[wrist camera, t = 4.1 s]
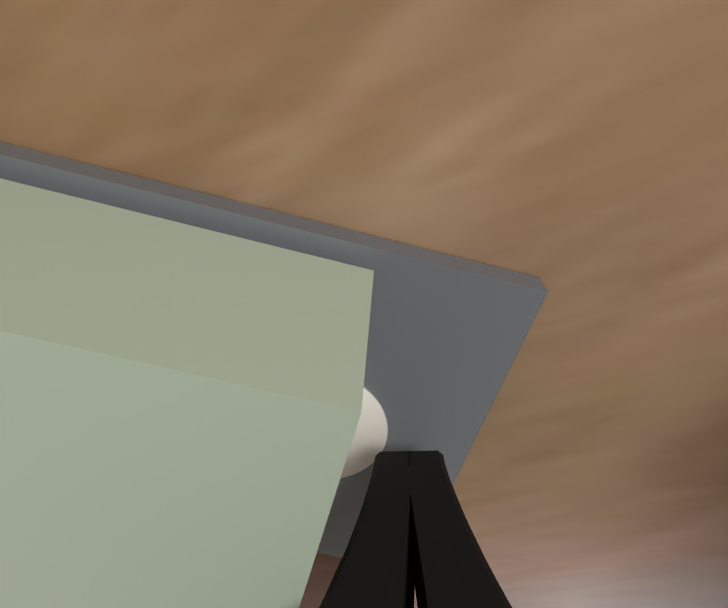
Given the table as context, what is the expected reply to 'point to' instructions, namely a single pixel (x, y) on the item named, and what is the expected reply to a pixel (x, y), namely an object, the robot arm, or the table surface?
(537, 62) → the table surface
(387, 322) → the base
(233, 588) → the pale green rectangular block
